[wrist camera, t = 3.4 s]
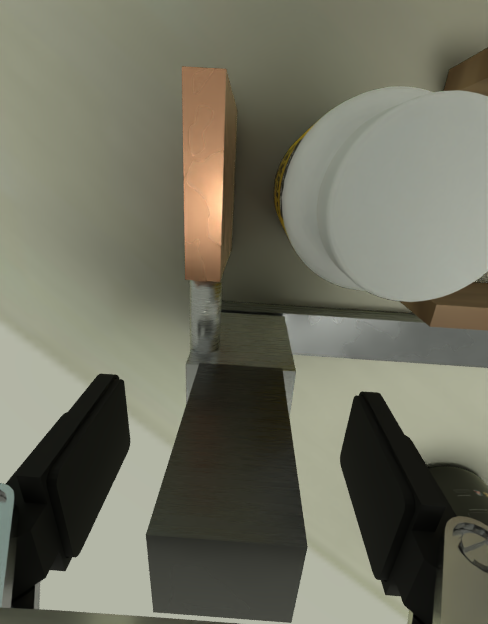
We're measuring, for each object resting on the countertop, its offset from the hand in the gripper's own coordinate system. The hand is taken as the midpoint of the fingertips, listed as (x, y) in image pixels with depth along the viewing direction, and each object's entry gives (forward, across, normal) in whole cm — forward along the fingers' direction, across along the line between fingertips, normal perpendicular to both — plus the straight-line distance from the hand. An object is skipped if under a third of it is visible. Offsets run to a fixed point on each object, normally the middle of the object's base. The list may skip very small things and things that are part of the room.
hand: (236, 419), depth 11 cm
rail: (+8, -7, 0) cm, 10 cm away
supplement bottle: (+8, -4, -7) cm, 11 cm away
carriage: (+7, 0, -4) cm, 9 cm away
